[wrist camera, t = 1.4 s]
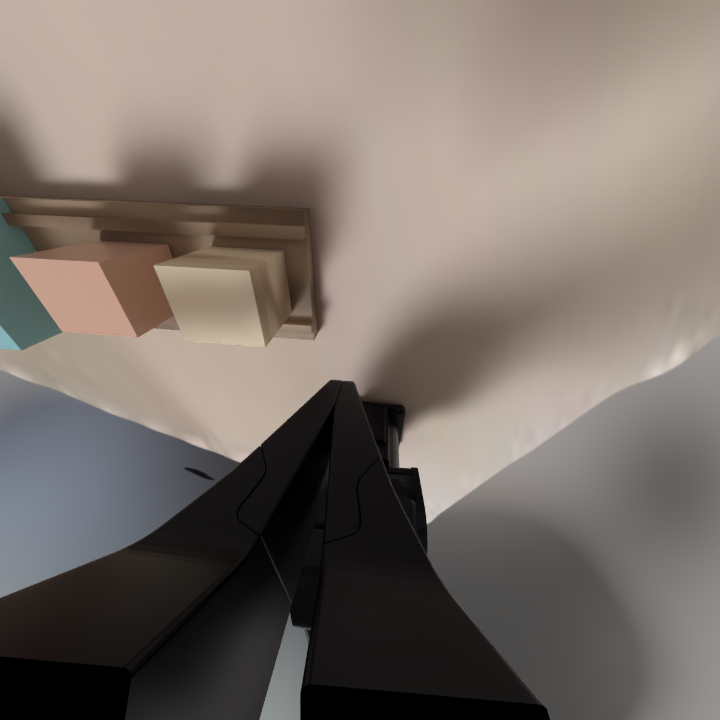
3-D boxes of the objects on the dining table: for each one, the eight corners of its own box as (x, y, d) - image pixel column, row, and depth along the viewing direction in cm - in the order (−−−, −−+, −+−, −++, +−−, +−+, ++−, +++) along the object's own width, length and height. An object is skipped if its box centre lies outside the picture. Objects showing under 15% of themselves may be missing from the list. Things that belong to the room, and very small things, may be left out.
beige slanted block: (292, 312, 19) (265, 347, 15) (227, 308, 19) (184, 341, 15) (283, 249, 17) (249, 270, 13) (210, 246, 17) (153, 265, 13)
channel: (317, 332, 21) (312, 343, 20) (75, 315, 23) (53, 324, 21) (308, 208, 16) (300, 211, 15) (-3, 195, 18) (-38, 196, 16)
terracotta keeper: (190, 305, 20) (137, 337, 16) (129, 301, 20) (62, 331, 16) (167, 244, 17) (97, 262, 13) (98, 240, 17) (8, 256, 13)
